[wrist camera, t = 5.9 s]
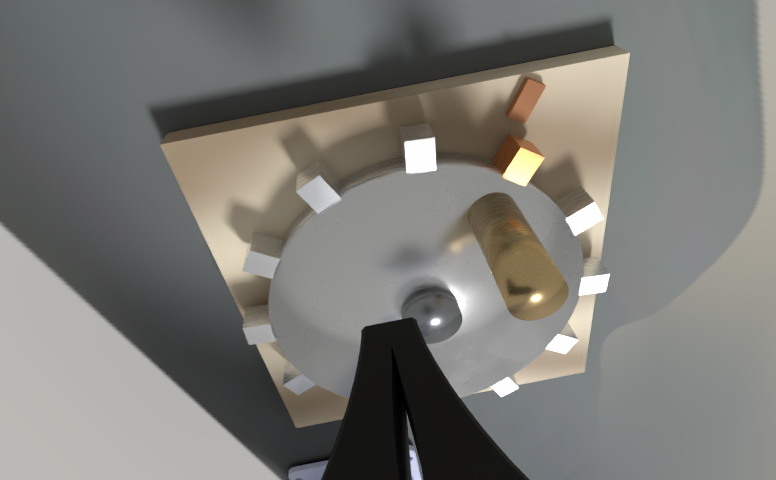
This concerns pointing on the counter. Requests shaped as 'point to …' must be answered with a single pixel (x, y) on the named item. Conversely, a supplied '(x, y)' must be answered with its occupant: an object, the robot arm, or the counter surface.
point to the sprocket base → (382, 143)
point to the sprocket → (426, 265)
